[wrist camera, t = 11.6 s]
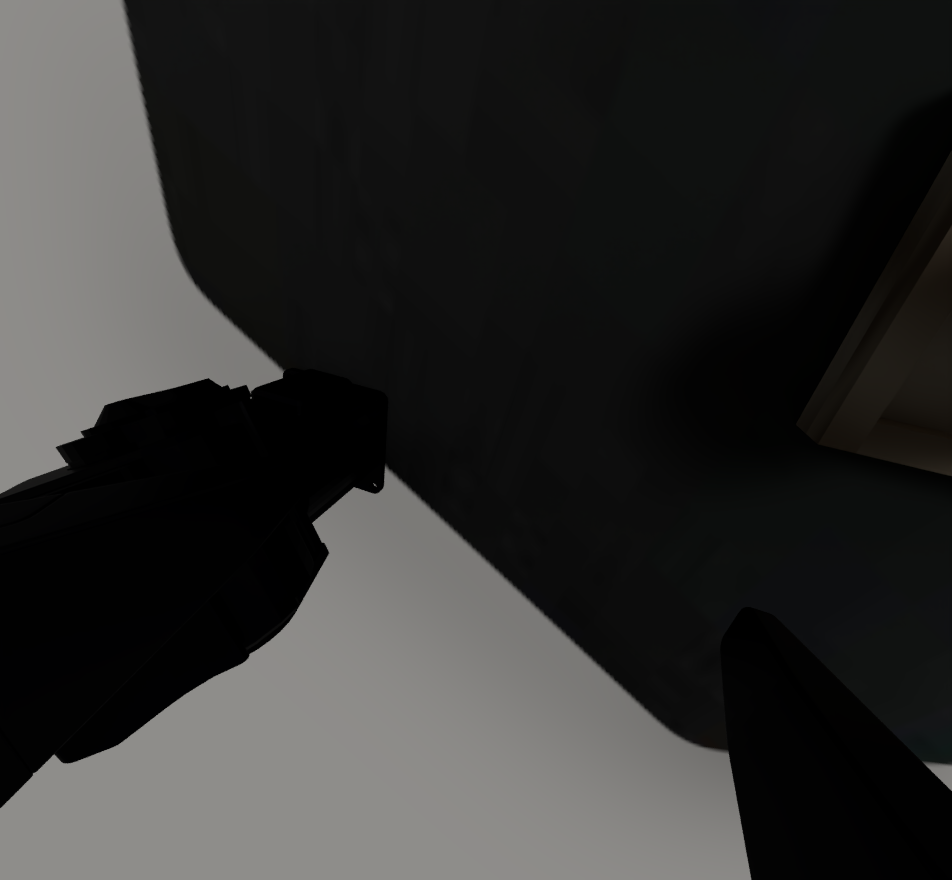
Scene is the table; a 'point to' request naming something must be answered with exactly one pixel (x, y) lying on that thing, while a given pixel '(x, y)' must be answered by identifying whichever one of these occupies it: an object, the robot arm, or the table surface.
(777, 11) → the table surface
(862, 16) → the table surface
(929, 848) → the robot arm
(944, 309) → the birch stand
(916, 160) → the table surface
